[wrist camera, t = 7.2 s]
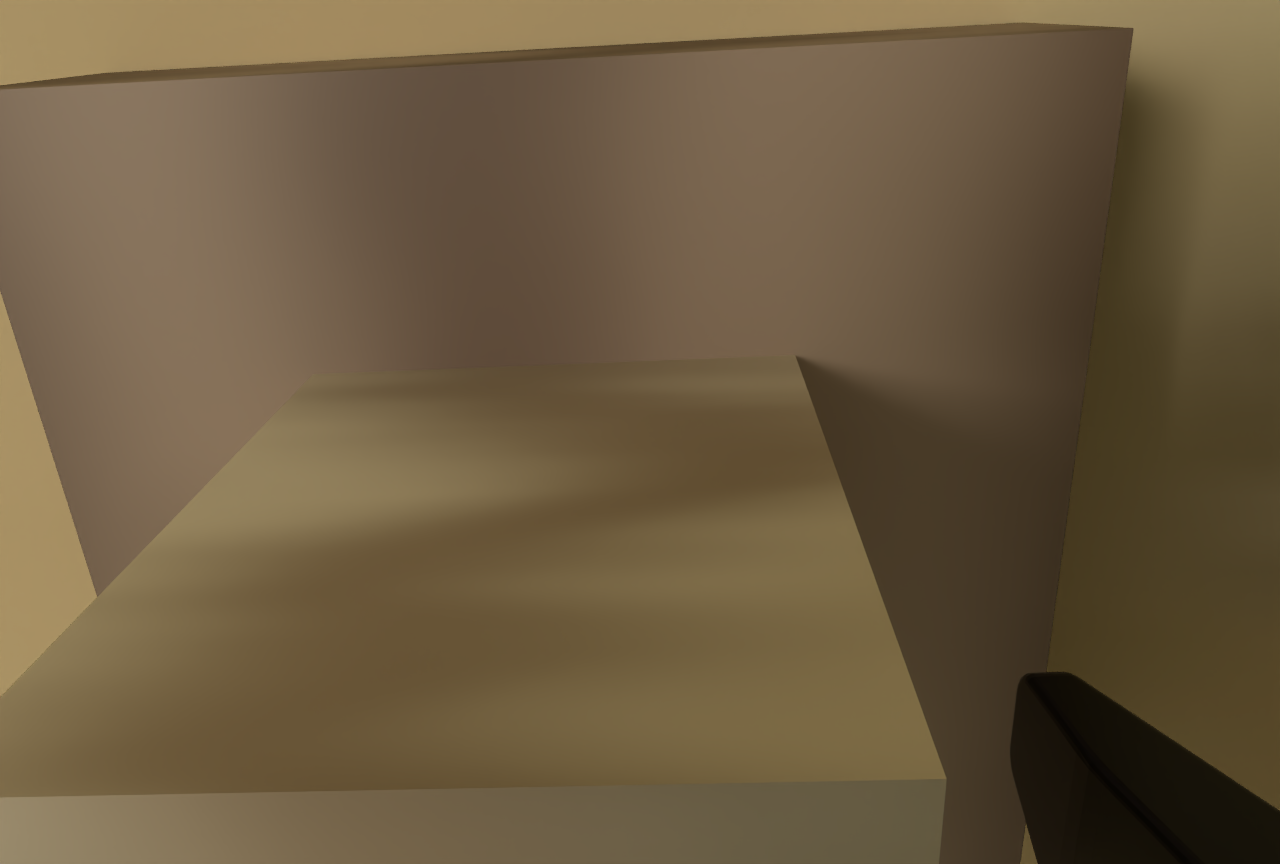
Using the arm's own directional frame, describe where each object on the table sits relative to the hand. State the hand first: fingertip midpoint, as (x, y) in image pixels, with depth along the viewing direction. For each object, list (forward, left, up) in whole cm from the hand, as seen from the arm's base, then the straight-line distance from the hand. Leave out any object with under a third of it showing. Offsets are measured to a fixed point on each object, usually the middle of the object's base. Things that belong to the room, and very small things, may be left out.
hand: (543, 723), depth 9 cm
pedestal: (0, 0, -6) cm, 6 cm away
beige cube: (0, 0, -2) cm, 2 cm away
